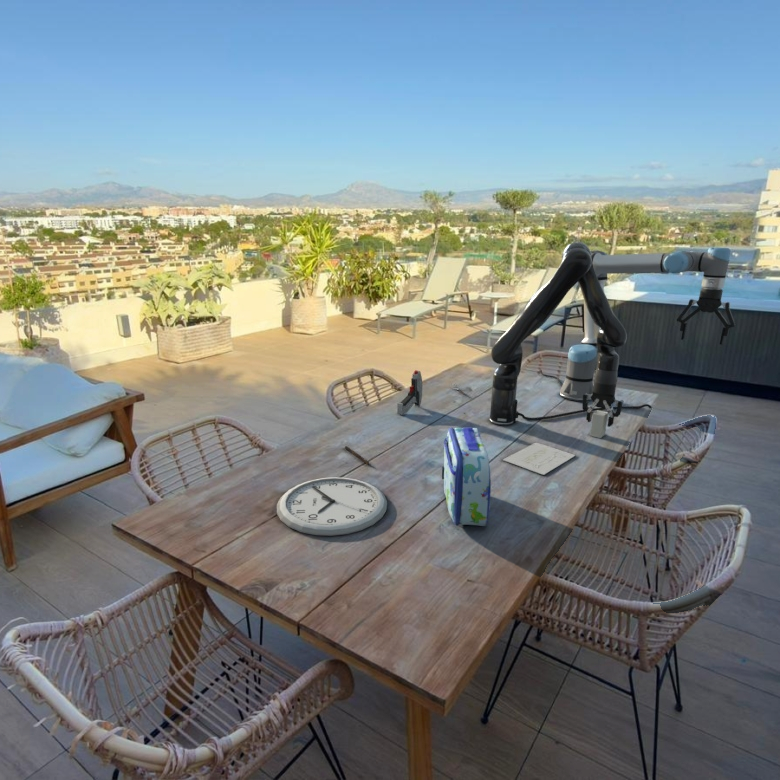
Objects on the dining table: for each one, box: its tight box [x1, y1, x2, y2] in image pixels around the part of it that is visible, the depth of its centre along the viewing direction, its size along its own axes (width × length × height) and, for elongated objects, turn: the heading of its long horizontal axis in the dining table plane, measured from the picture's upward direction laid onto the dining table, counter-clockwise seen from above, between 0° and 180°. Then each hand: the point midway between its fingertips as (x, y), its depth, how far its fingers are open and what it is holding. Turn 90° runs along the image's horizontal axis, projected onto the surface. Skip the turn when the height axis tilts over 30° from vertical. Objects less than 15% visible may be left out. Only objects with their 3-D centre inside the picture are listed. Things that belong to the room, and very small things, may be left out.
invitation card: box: [502, 442, 577, 476], centre depth 174 cm, size 21×1×15 cm
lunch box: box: [441, 426, 492, 527], centre depth 140 cm, size 26×11×21 cm, turn 179°
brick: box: [589, 410, 609, 439], centre depth 194 cm, size 4×5×9 cm
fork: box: [450, 382, 467, 397], centre depth 243 cm, size 3×16×2 cm, turn 15°
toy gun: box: [396, 369, 423, 416], centre depth 215 cm, size 2×16×15 cm
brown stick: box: [344, 445, 370, 465], centre depth 173 cm, size 15×1×1 cm, turn 34°
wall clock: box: [276, 476, 388, 537], centre depth 142 cm, size 30×2×30 cm
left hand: (599, 423), depth 194 cm, fingers open, 6 cm apart
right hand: (701, 341), depth 211 cm, fingers open, 13 cm apart
